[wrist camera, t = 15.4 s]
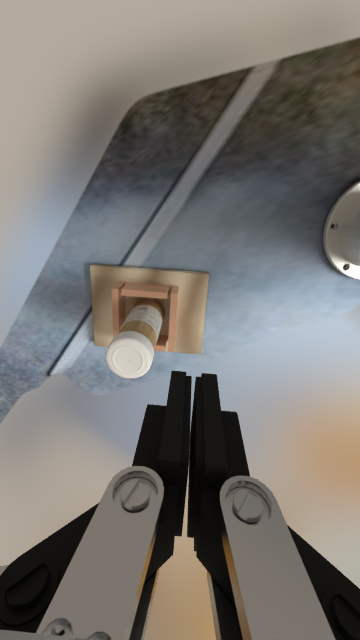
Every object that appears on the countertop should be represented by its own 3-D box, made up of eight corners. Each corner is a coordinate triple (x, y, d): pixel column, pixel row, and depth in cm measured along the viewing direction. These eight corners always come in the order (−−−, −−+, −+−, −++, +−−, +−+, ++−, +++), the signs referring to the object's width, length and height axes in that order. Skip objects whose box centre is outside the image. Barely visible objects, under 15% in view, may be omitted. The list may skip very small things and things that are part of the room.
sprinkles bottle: (134, 325, 40) (105, 379, 28) (133, 295, 38) (102, 337, 26) (165, 326, 40) (151, 381, 27) (166, 296, 38) (150, 340, 26)
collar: (178, 286, 38) (177, 293, 34) (175, 340, 41) (173, 352, 37) (118, 281, 38) (111, 288, 34) (120, 336, 41) (113, 347, 38)
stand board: (208, 272, 38) (209, 274, 37) (200, 350, 42) (201, 354, 41) (92, 264, 38) (89, 265, 37) (97, 341, 43) (94, 345, 42)
